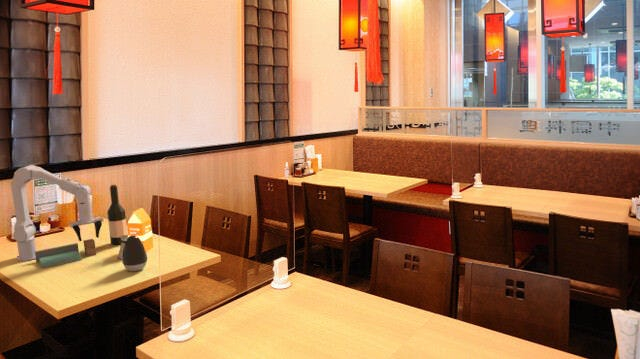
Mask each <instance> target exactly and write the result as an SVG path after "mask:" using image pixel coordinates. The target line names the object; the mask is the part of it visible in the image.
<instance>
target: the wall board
mask: <svg viewBox="0 0 640 359" xmlns="http://www.w3.org/2000/svg"><path fill="white" fill-rule="evenodd" d="M35 257H36V259H35V263H39V264H40V266H41V267H42V269H45V268H50V267H54V266H58V265H64V264H68V263H72V262H76V261H77V260H78V261H82V260H83V258H82V255H81V253H80V251H79V243H71V244H66V245H60V246H56V247H55V246H54V247H51V248H45V249H42V250H41V249H40V250H36V251H35ZM63 263H64V264H63Z"/></svg>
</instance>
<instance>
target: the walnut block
mask: <svg viewBox="0 0 640 359" xmlns="http://www.w3.org/2000/svg"><path fill="white" fill-rule="evenodd" d="M83 247H84V248H83V249H84V255H85V256H86V257H93V256H97V250H96V242H95V239H93V238H89V239H85V240H84V239H83Z"/></svg>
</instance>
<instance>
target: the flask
mask: <svg viewBox="0 0 640 359" xmlns="http://www.w3.org/2000/svg"><path fill="white" fill-rule="evenodd" d="M127 235H128V234H127ZM127 235H123V236H121V237H120V238H121V240H126V239H127V237H128V236H127ZM124 244H125V243H121V245H120V247H119V251H118V255H117V259H121V260H122V254H123V248H124Z"/></svg>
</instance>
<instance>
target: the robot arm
mask: <svg viewBox="0 0 640 359" xmlns="http://www.w3.org/2000/svg"><path fill="white" fill-rule="evenodd" d="M40 179H41V180H44V181H46V182H49V183H52V184H55V185H56V186H58V187H59V189H60V190H62V191H65V192H66V193H69V194H71V195H73V196H74V197H75V198H76V201H77V208H78V209H77V210H78V215H79V216H78V218H79V220H75V221H71V222H69V224H68V225H69V227H70V228H71V229H73V230H74V232H75V234H76V236H77V238H78V241H79V242H82V236H81V228H80V227H81V226H85V225H91V224H94V230H95V237H96V238H98V239H99V236H100V231H101V228H102V224H103V222H104V217H103V216H98V217H94V215H93V208H92V199H91V194H92V188H91V187H90V186H89V185H88V184H86V183H83V184H82V182H77V181H74V180H72V178H71V177H65V178H61V177H59V176H57V175H55V174H53V173H52V172H49V171H48V170H45V169H44V168H42V166H41V167H40V166H37V165H35V164H28V165H27V166H24V167H19V168H18V169H16V171H15V172H14V173H13V177H12V179H11V181H10V182H11V183H10V188H11V193H12V194H11V195H12V201H13V207H14V215H15V220H16V221H15V223H14V226H13V229H14V231H13V233H12V237H13V239H14V240H15V241H16V244H17V245H16V246H17V250H18V255H17V256H16V258H17V259H18V261H19V262H20V263H21V262H28V261H31V260H32V261H33V260H36V257H35V251H37V246H36V239H35V235H36V232H37V229H36V226H35V224H34V222H33V220H32V219H31V218H30V212H29V211H30V210H29V206H28V198H27V192H26V185H27V184H29V182H30V181H32V180H40Z"/></svg>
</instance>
